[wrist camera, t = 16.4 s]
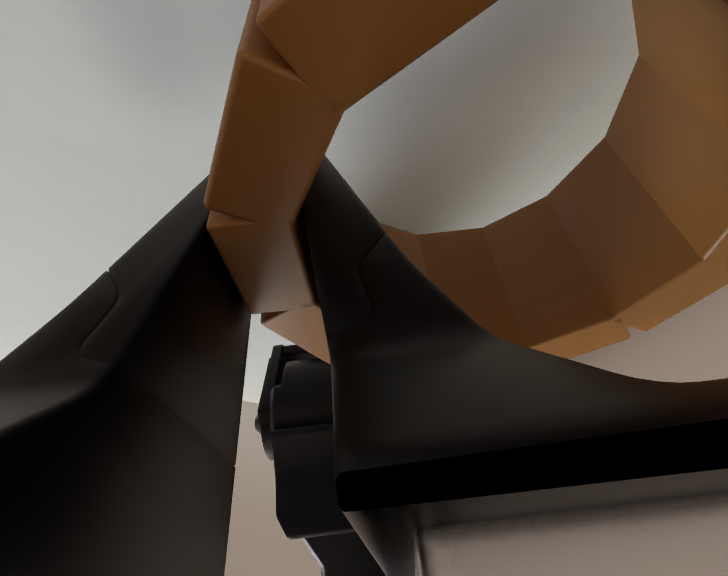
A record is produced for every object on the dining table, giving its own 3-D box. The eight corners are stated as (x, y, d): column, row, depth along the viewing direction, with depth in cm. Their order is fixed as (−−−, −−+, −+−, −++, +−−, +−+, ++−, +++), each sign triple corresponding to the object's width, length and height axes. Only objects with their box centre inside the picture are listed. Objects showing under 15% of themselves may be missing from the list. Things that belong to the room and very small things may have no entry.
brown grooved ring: (709, 152, 11) (836, 272, 8) (392, 299, 15) (409, 411, 12) (705, -513, 4) (1334, -984, 2) (137, 69, 8) (55, 206, 6)
